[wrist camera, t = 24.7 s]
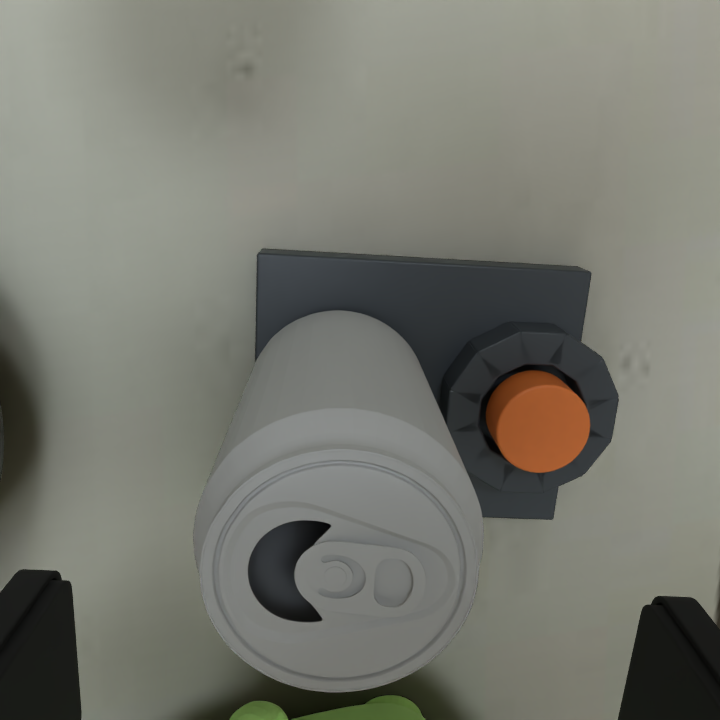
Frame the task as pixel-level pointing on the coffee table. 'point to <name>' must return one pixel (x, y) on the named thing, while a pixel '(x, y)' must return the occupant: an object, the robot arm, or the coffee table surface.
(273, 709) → the teapot
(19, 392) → the coffee table surface
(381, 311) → the button base
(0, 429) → the planter
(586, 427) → the button
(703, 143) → the coffee table surface
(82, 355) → the coffee table surface
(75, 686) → the robot arm
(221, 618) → the beverage can
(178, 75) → the coffee table surface
